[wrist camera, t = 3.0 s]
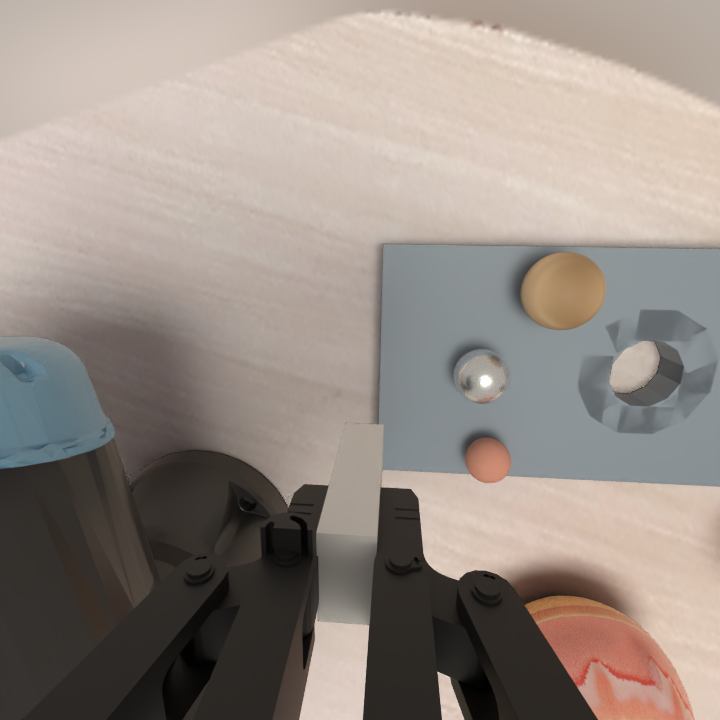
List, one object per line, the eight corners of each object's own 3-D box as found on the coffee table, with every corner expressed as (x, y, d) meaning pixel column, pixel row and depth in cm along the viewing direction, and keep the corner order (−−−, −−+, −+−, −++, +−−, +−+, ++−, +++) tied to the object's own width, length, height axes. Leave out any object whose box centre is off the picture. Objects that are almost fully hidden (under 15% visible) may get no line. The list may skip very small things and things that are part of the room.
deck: (378, 453, 34) (377, 469, 31) (384, 243, 29) (383, 244, 27) (710, 468, 32) (735, 487, 30) (768, 249, 28) (804, 250, 25)
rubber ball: (460, 467, 31) (467, 490, 28) (463, 429, 30) (471, 449, 27) (502, 469, 31) (514, 493, 28) (507, 431, 30) (519, 451, 27)
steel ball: (448, 391, 29) (455, 411, 26) (451, 342, 28) (460, 356, 25) (500, 393, 29) (514, 413, 26) (505, 344, 28) (521, 358, 25)
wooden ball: (508, 321, 28) (529, 336, 23) (515, 250, 27) (539, 252, 22) (579, 323, 27) (614, 339, 23) (590, 251, 26) (629, 253, 22)
